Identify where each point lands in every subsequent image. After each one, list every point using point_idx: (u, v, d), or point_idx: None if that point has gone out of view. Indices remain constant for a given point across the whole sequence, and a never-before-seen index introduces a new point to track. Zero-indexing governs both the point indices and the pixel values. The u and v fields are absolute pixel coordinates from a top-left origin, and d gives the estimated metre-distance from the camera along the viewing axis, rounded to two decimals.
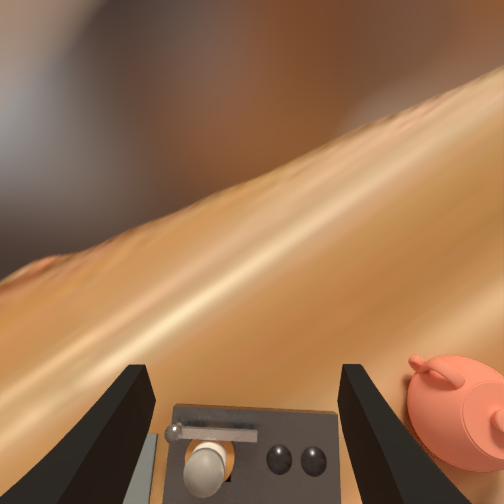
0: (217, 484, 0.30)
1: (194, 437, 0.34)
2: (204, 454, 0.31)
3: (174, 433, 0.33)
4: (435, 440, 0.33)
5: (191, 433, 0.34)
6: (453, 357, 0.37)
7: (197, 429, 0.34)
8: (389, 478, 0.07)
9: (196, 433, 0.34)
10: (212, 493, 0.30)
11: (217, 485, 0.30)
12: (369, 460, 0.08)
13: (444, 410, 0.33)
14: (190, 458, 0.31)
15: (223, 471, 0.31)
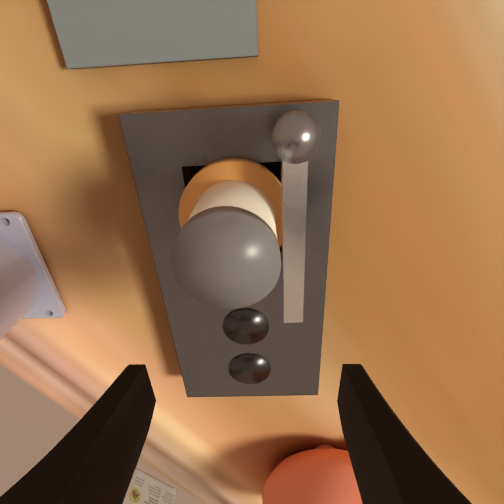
0: (207, 297, 0.12)
1: (286, 196, 0.13)
2: (269, 262, 0.11)
3: (298, 144, 0.11)
4: None
5: (295, 187, 0.13)
6: None
7: (306, 201, 0.13)
8: (389, 478, 0.07)
9: (296, 199, 0.13)
10: (187, 289, 0.12)
11: (206, 298, 0.12)
12: (369, 460, 0.08)
13: None
14: (256, 228, 0.11)
15: (236, 305, 0.12)
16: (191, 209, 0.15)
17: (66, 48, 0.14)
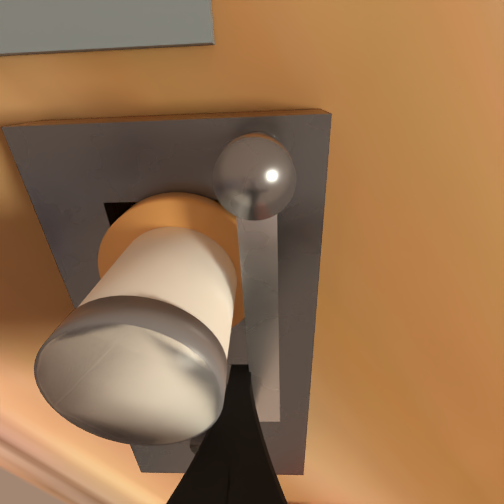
0: (110, 430, 0.07)
1: (245, 263, 0.08)
2: (204, 390, 0.07)
3: (257, 190, 0.07)
4: None
5: (259, 250, 0.08)
6: None
7: (277, 270, 0.08)
8: None
9: (261, 268, 0.08)
10: (74, 420, 0.07)
11: (106, 433, 0.07)
12: None
13: None
14: (174, 344, 0.06)
15: (159, 440, 0.08)
16: None
17: None
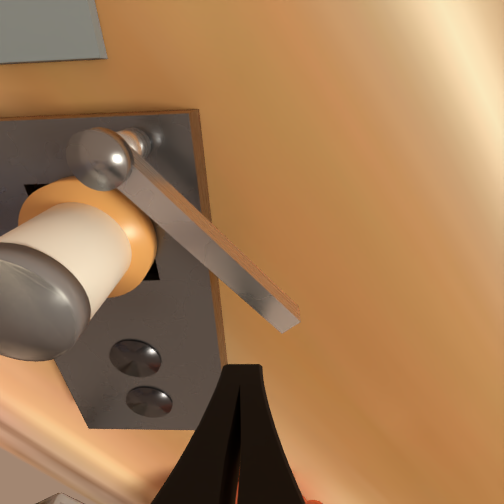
0: (3, 348, 0.10)
1: (155, 216, 0.10)
2: (60, 311, 0.09)
3: (102, 165, 0.09)
4: None
5: (153, 202, 0.10)
6: None
7: (177, 206, 0.10)
8: None
9: (166, 213, 0.10)
10: None
11: (0, 349, 0.10)
12: None
13: None
14: (29, 273, 0.09)
15: (42, 357, 0.10)
16: None
17: None
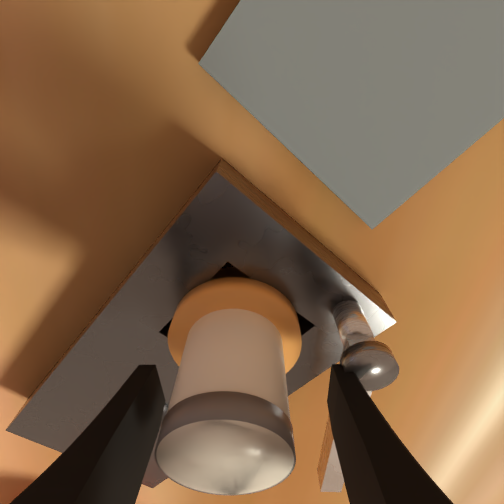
0: (173, 469, 0.09)
1: None
2: (268, 479, 0.09)
3: (372, 377, 0.10)
4: None
5: None
6: None
7: None
8: (373, 478, 0.07)
9: None
10: (159, 454, 0.09)
11: (170, 470, 0.09)
12: (355, 460, 0.08)
13: None
14: (290, 456, 0.09)
15: None
16: (203, 311, 0.12)
17: (218, 47, 0.10)
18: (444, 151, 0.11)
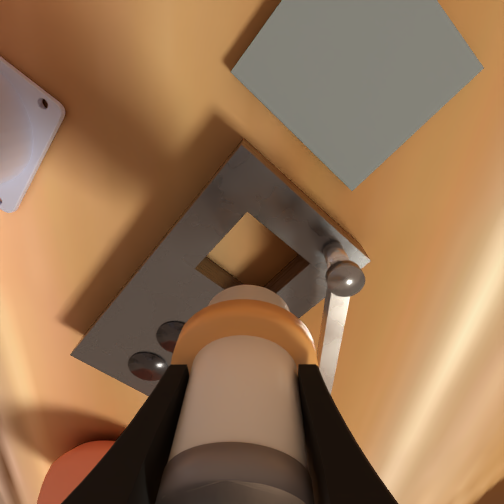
0: None
1: (331, 312, 0.16)
2: None
3: (346, 285, 0.15)
4: None
5: (338, 307, 0.16)
6: None
7: (345, 316, 0.17)
8: (323, 477, 0.07)
9: (337, 315, 0.17)
10: None
11: None
12: (313, 459, 0.09)
13: None
14: None
15: None
16: (210, 338, 0.11)
17: (244, 61, 0.15)
18: (401, 132, 0.16)
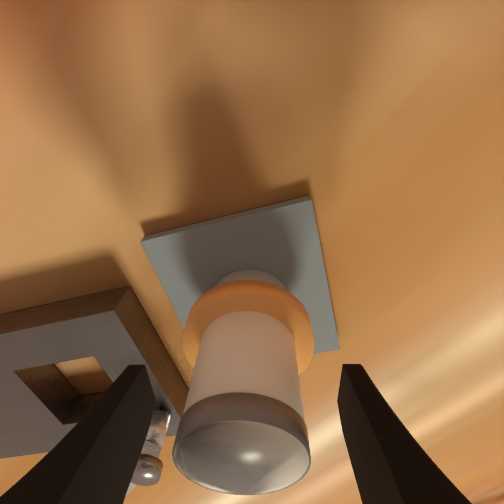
0: (188, 466, 0.09)
1: None
2: (281, 481, 0.10)
3: (140, 478, 0.15)
4: None
5: None
6: None
7: (133, 488, 0.17)
8: (389, 478, 0.07)
9: None
10: (177, 451, 0.09)
11: (186, 468, 0.09)
12: (369, 460, 0.08)
13: None
14: (306, 460, 0.09)
15: (206, 484, 0.10)
16: (220, 312, 0.12)
17: (157, 242, 0.14)
18: None
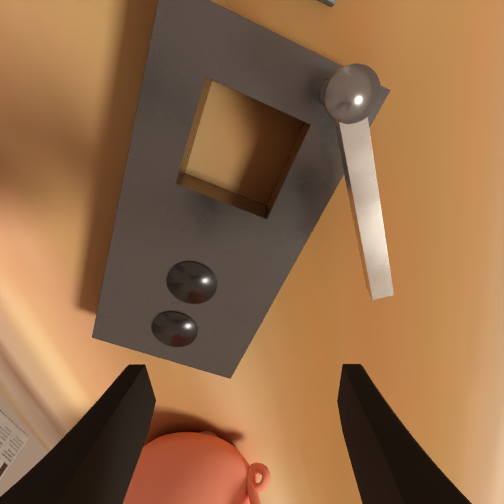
0: None
1: (350, 162, 0.12)
2: None
3: (355, 100, 0.10)
4: (164, 483, 0.24)
5: (358, 149, 0.12)
6: None
7: None
8: (389, 478, 0.07)
9: (362, 163, 0.12)
10: None
11: None
12: (369, 460, 0.08)
13: None
14: None
15: None
16: None
17: None
18: None
